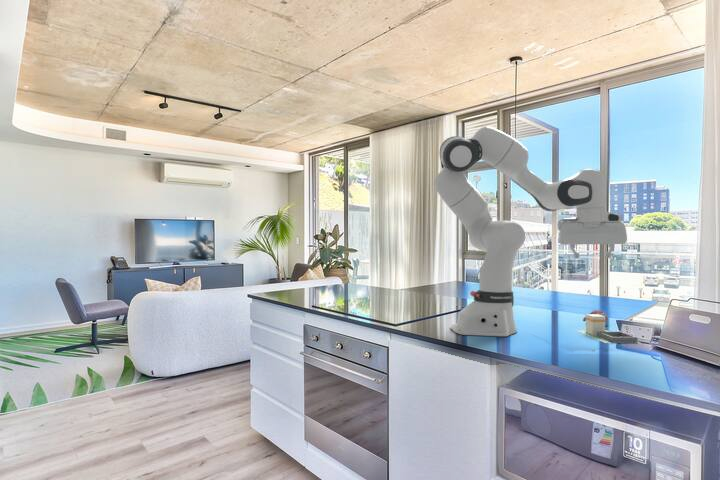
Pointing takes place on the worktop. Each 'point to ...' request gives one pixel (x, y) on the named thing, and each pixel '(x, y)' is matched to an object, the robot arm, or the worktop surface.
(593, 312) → the reddish-brown rounded lump
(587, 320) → the plug
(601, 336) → the board
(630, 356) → the worktop surface
